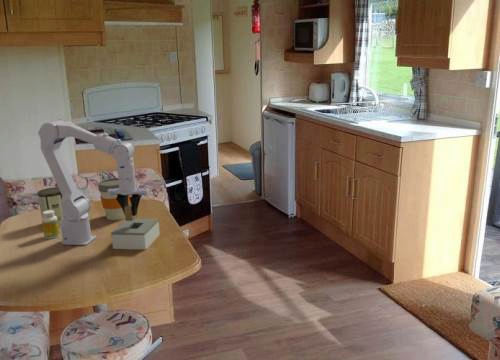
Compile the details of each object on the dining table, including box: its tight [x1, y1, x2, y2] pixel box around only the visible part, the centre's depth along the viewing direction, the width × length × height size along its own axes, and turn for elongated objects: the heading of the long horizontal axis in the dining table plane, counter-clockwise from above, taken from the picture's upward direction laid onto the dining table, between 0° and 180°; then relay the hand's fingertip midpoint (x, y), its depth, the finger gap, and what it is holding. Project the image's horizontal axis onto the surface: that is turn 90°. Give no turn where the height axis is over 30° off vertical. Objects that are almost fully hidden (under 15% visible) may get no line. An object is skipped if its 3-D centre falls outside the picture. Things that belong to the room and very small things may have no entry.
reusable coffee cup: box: [98, 177, 131, 221], centre depth 199 cm, size 13×13×15 cm
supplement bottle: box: [41, 210, 61, 240], centre depth 180 cm, size 5×5×10 cm
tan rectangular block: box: [124, 202, 138, 221], centre depth 169 cm, size 2×4×5 cm, turn 170°
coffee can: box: [36, 186, 65, 228], centre depth 193 cm, size 10×10×14 cm
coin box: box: [110, 218, 161, 250], centre depth 172 cm, size 12×14×6 cm
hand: (130, 214), depth 169 cm, fingers closed on tan rectangular block, 2 cm apart
